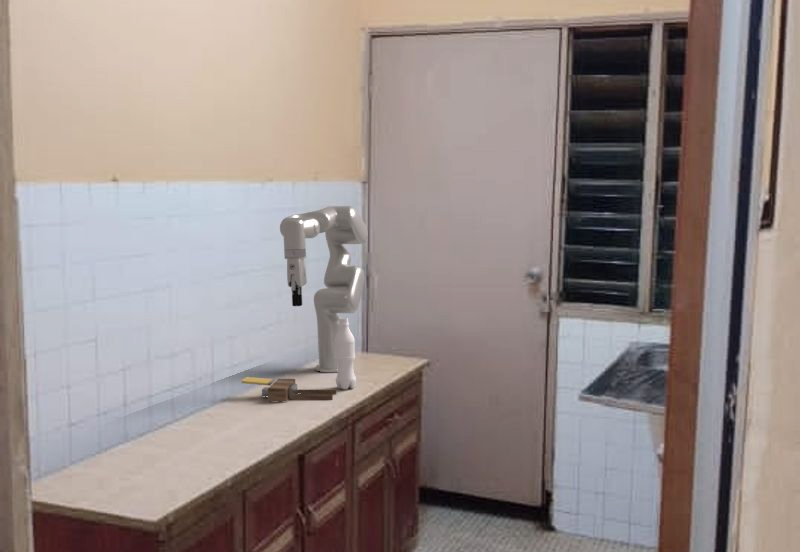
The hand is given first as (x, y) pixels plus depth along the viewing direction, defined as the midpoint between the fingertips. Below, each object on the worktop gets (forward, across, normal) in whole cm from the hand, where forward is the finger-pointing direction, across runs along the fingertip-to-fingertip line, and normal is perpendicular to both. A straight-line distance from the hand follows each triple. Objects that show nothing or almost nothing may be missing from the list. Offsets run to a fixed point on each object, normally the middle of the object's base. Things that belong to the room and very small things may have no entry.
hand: (297, 305), depth 302 cm
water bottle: (+29, -3, -17) cm, 34 cm away
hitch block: (+29, -15, -4) cm, 33 cm away
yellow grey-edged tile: (+24, -15, +11) cm, 30 cm away
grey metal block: (+29, -15, +5) cm, 33 cm away
